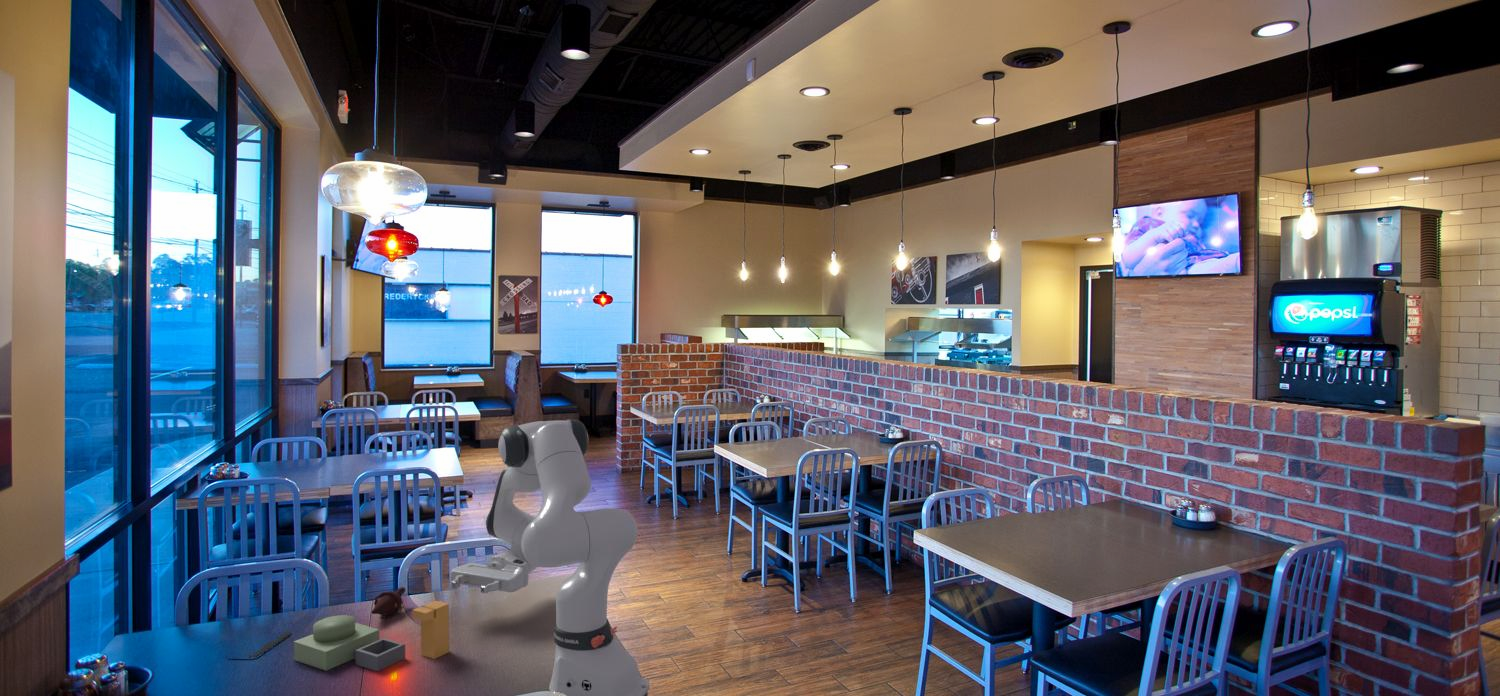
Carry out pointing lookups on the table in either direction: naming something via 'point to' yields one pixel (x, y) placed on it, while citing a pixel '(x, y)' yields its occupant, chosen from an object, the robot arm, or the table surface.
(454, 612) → the table surface
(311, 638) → the green and grey blocks
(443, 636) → the tall tan cardboard block
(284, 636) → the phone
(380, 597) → the dark brown rounded piece
